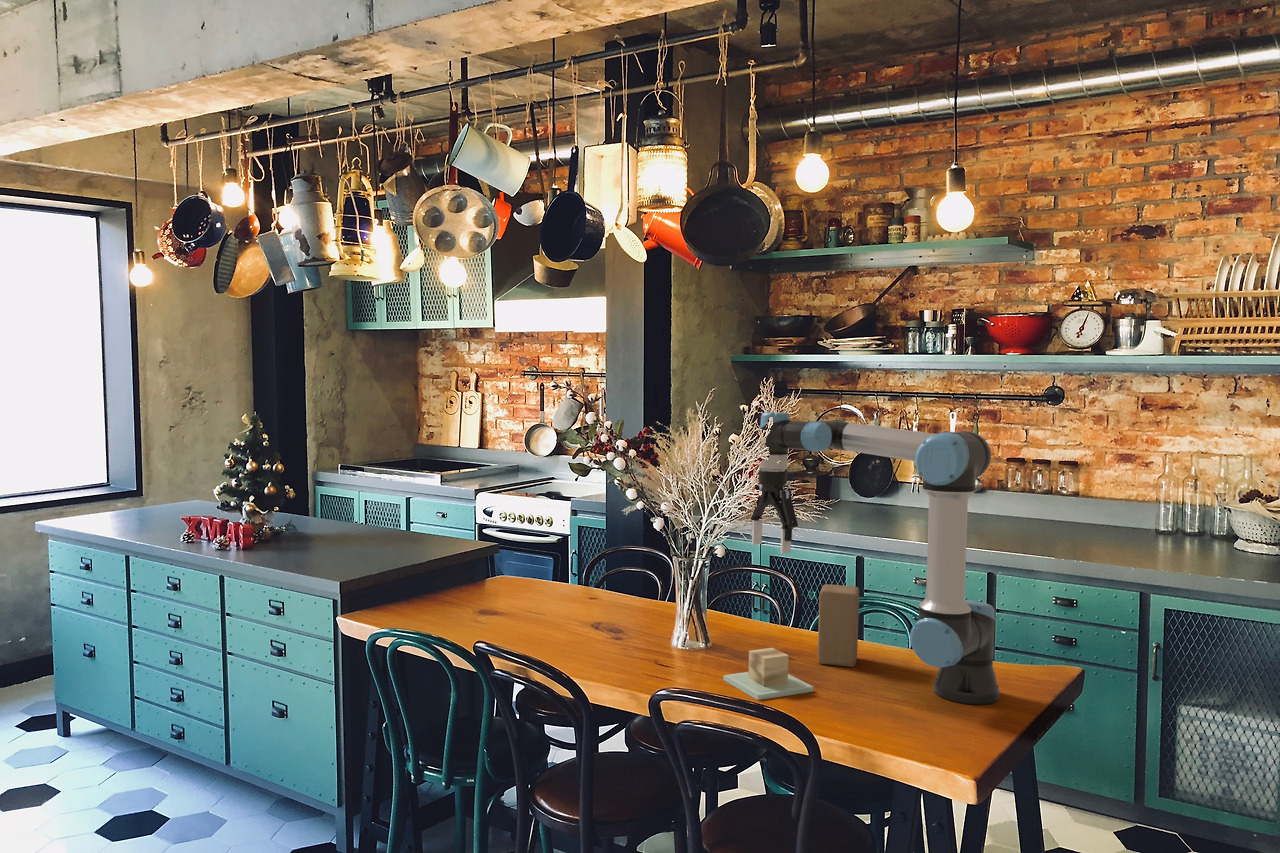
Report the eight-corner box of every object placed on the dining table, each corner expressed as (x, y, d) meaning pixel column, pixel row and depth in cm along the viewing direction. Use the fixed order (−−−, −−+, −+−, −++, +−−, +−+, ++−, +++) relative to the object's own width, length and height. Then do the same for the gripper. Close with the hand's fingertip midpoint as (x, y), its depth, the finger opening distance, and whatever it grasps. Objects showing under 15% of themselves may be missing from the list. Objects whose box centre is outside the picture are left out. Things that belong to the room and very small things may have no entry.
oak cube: (787, 683, 232) (788, 655, 232) (763, 686, 229) (764, 658, 229) (771, 674, 238) (772, 647, 238) (748, 678, 235) (749, 650, 235)
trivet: (813, 691, 230) (813, 686, 230) (757, 700, 223) (757, 694, 223) (776, 672, 244) (776, 667, 244) (723, 679, 238) (723, 675, 238)
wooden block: (857, 657, 259) (859, 586, 258) (855, 668, 249) (857, 593, 248) (820, 654, 262) (822, 583, 261) (816, 664, 252) (819, 590, 251)
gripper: (813, 474, 242) (810, 556, 243) (758, 464, 264) (756, 539, 265) (789, 475, 238) (786, 558, 239) (736, 465, 261) (734, 541, 262)
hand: (770, 548), depth 252 cm, fingers open, 13 cm apart
